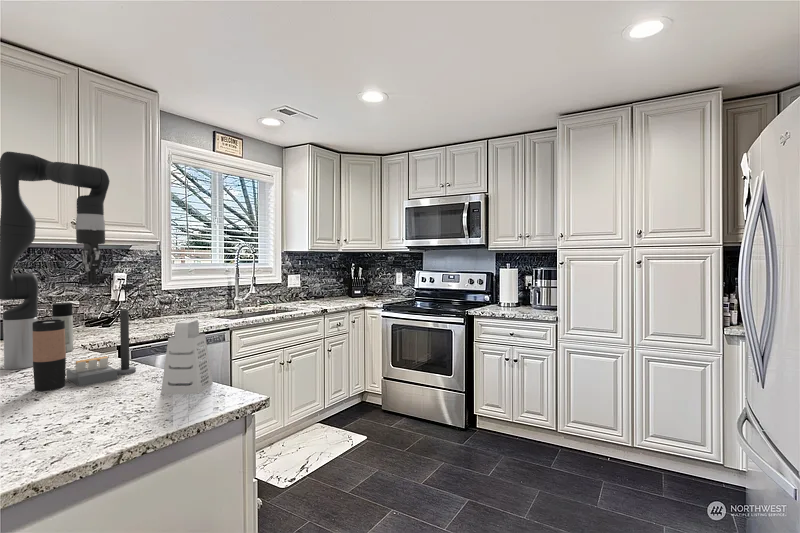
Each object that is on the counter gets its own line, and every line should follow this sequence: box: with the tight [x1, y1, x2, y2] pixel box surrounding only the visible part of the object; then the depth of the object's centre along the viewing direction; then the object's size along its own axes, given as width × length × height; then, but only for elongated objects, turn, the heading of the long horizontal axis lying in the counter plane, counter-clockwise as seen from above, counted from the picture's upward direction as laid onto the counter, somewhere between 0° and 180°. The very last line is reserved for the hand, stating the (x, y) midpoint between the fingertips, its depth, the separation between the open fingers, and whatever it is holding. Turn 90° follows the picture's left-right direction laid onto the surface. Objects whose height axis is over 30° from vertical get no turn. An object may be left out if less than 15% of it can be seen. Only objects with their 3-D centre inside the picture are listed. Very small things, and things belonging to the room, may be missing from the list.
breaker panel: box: [66, 363, 118, 387], centre depth 138 cm, size 14×10×3 cm
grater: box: [160, 319, 214, 395], centre depth 128 cm, size 10×10×20 cm
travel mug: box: [32, 319, 67, 392], centre depth 128 cm, size 8×8×20 cm
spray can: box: [51, 302, 74, 353], centre depth 177 cm, size 7×7×20 cm
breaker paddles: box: [75, 356, 109, 372], centre depth 137 cm, size 1×8×3 cm, turn 141°
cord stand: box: [115, 309, 136, 376], centre depth 145 cm, size 6×6×21 cm
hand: (91, 283), depth 138 cm, fingers closed
